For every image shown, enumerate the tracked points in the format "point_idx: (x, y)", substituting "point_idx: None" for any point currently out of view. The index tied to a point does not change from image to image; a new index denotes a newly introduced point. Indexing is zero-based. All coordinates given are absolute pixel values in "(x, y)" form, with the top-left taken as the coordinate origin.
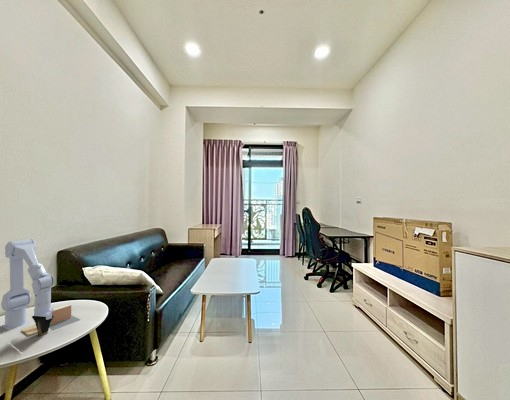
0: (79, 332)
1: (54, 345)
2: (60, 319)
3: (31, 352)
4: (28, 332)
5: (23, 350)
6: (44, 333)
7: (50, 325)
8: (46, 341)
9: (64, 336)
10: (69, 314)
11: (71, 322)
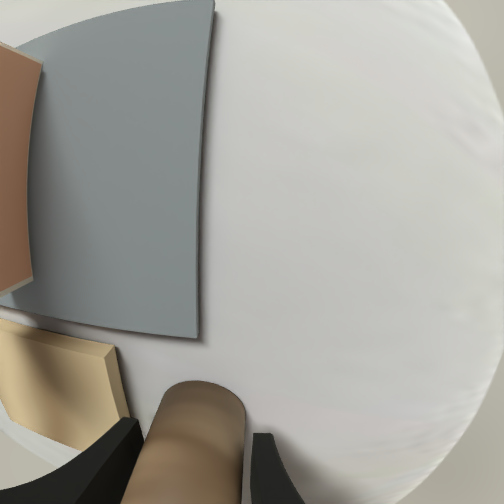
0: (498, 195)
1: (474, 396)
2: (10, 179)
3: (403, 478)
4: (84, 444)
5: (331, 499)
6: (244, 433)
7: (38, 285)
8: (370, 425)
9: (447, 313)
10: (8, 67)
11: (172, 92)
